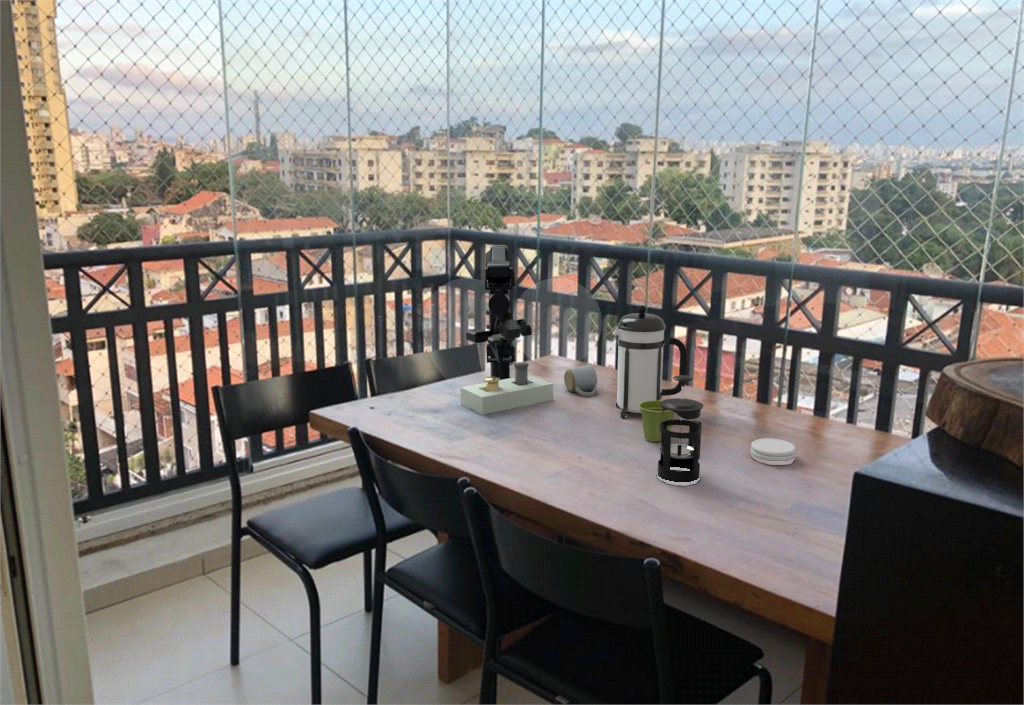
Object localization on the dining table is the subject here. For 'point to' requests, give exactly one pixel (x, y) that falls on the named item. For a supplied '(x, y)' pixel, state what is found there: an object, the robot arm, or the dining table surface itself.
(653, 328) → the coffee press
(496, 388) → the brass plug
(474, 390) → the block
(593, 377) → the ceramic mug
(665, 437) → the french press
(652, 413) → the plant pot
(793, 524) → the dining table surface
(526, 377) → the graphite plug
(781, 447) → the coaster
